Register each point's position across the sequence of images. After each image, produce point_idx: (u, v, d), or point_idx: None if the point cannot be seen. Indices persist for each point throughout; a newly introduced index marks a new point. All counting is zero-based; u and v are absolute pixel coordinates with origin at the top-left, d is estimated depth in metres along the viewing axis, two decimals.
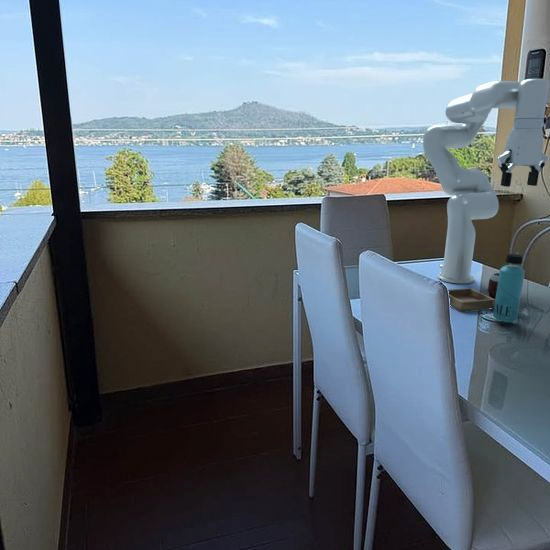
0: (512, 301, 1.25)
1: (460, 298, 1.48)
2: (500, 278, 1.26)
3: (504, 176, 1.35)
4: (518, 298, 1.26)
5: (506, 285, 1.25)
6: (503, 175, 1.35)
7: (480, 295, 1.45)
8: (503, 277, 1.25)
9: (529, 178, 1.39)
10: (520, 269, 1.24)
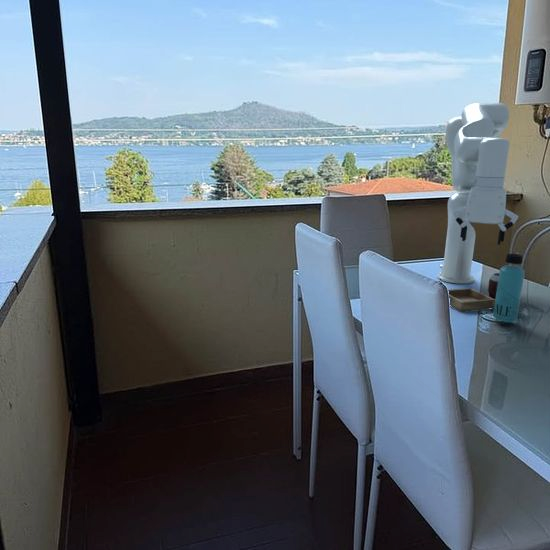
0: (512, 301, 1.25)
1: (460, 298, 1.48)
2: (500, 278, 1.26)
3: (504, 234, 1.33)
4: (518, 298, 1.26)
5: (506, 285, 1.25)
6: (504, 233, 1.32)
7: (480, 295, 1.45)
8: (503, 277, 1.25)
9: (465, 234, 1.37)
10: (520, 269, 1.24)
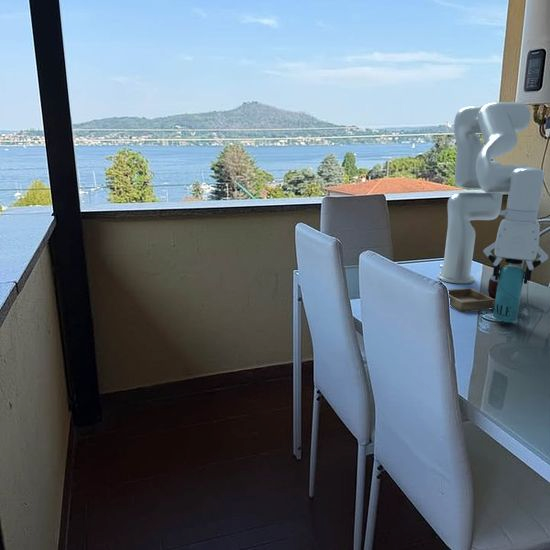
0: (512, 301, 1.25)
1: (460, 298, 1.48)
2: (500, 278, 1.26)
3: (531, 272, 1.24)
4: (518, 298, 1.26)
5: (506, 285, 1.25)
6: (531, 272, 1.24)
7: (480, 295, 1.45)
8: (503, 277, 1.25)
9: (498, 273, 1.27)
10: (520, 269, 1.24)
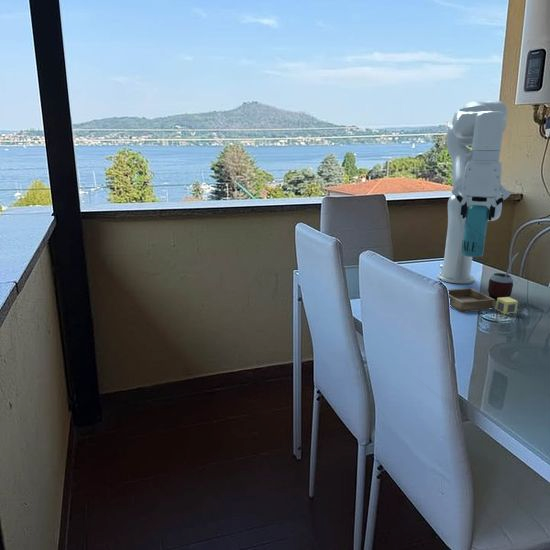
0: (478, 237, 1.36)
1: (460, 298, 1.48)
2: (467, 216, 1.37)
3: (495, 210, 1.35)
4: (483, 234, 1.36)
5: (472, 222, 1.35)
6: (495, 209, 1.34)
7: (480, 295, 1.45)
8: (469, 214, 1.35)
9: (465, 211, 1.37)
10: (485, 207, 1.34)
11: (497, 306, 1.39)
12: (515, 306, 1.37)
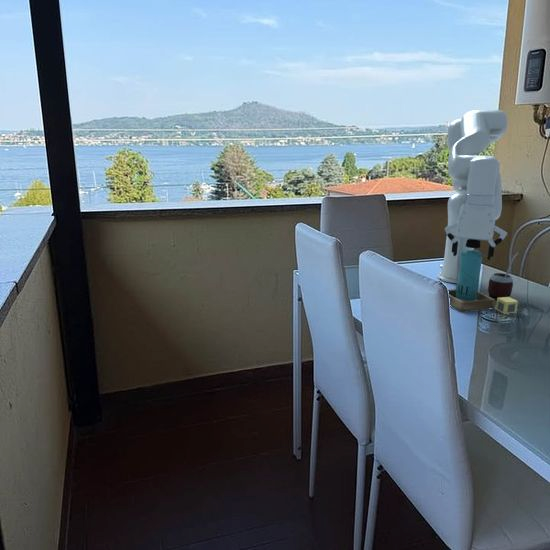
0: (471, 281, 1.40)
1: None
2: (461, 261, 1.41)
3: None
4: (477, 279, 1.40)
5: (465, 267, 1.40)
6: None
7: (480, 295, 1.45)
8: (463, 260, 1.40)
9: (456, 249, 1.41)
10: (478, 253, 1.39)
11: (497, 306, 1.39)
12: (515, 306, 1.37)
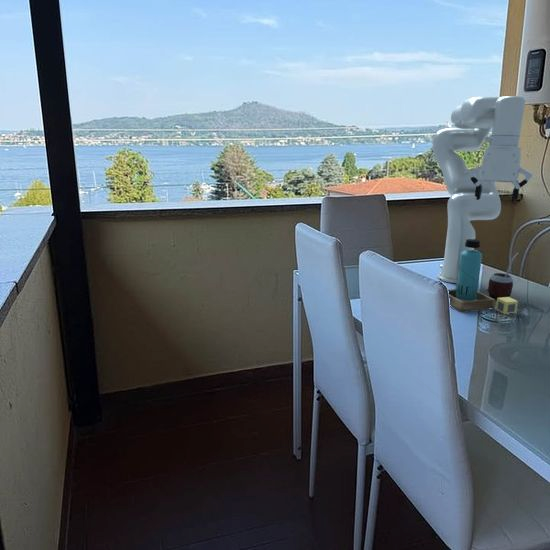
0: (471, 281, 1.40)
1: None
2: (460, 261, 1.41)
3: (518, 192, 1.36)
4: (476, 279, 1.40)
5: (465, 267, 1.40)
6: (518, 191, 1.35)
7: (480, 295, 1.45)
8: (463, 260, 1.40)
9: (480, 193, 1.40)
10: (478, 252, 1.39)
11: (497, 306, 1.40)
12: (515, 306, 1.37)
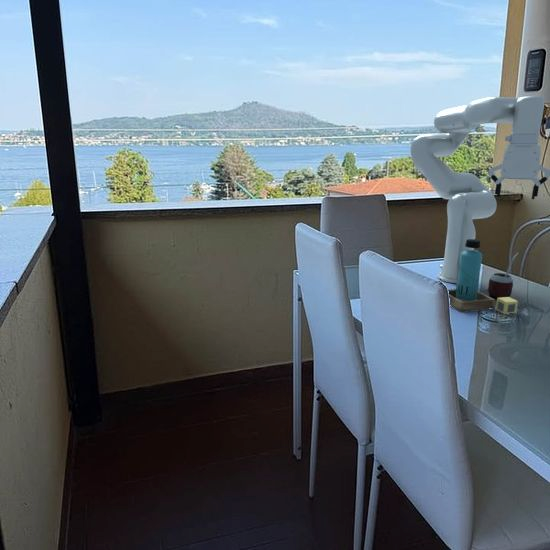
0: (471, 281, 1.40)
1: None
2: (461, 261, 1.41)
3: None
4: (477, 279, 1.40)
5: (465, 267, 1.40)
6: (538, 188, 1.39)
7: (480, 295, 1.45)
8: (463, 260, 1.40)
9: (500, 190, 1.44)
10: (478, 253, 1.39)
11: (497, 306, 1.40)
12: (515, 306, 1.37)
